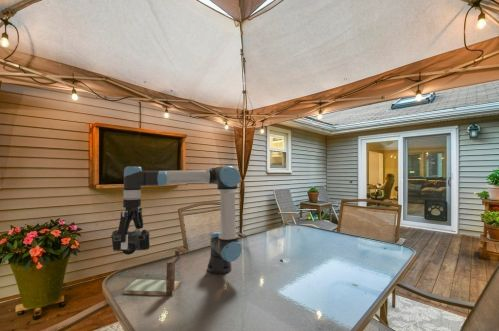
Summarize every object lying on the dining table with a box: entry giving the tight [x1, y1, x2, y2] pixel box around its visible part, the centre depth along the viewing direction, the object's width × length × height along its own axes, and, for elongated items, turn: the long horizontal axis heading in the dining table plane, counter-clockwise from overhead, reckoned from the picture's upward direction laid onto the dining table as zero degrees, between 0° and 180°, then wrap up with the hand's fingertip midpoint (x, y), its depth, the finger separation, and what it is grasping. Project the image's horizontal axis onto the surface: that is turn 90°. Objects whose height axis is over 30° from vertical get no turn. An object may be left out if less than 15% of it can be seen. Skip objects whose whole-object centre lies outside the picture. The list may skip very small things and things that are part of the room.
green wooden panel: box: [123, 249, 182, 297], centre depth 118 cm, size 25×12×18 cm, turn 87°
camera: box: [110, 229, 151, 256], centre depth 108 cm, size 18×9×10 cm, turn 100°
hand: (131, 245), depth 108 cm, fingers closed on camera, 10 cm apart
